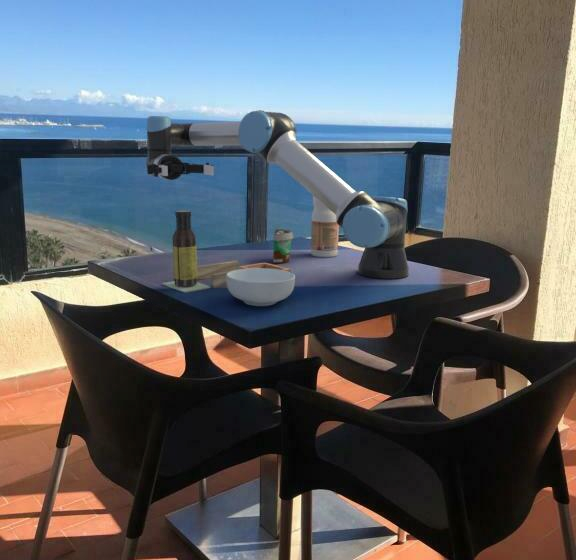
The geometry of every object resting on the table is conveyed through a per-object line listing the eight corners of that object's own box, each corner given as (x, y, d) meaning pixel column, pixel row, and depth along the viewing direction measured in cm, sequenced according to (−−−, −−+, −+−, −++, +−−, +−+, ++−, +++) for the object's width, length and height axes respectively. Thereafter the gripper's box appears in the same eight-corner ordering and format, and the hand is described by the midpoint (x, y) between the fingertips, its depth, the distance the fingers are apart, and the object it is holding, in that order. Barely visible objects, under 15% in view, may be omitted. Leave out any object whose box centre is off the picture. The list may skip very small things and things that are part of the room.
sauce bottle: (202, 283, 162) (201, 210, 157) (188, 288, 156) (187, 212, 152) (182, 281, 165) (181, 208, 160) (168, 285, 159) (166, 211, 154)
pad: (210, 288, 159) (210, 286, 159) (184, 292, 154) (184, 291, 154) (187, 280, 167) (187, 278, 167) (162, 284, 162) (162, 283, 162)
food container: (292, 265, 189) (293, 234, 187) (273, 265, 189) (273, 234, 187) (292, 258, 201) (293, 228, 199) (274, 257, 201) (275, 228, 199)
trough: (260, 279, 170) (260, 267, 169) (214, 287, 160) (214, 275, 159) (235, 272, 179) (235, 260, 178) (189, 279, 168) (189, 267, 167)
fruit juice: (305, 255, 206) (308, 173, 200) (318, 251, 214) (321, 172, 208) (329, 258, 202) (333, 174, 195) (342, 254, 209) (345, 173, 203)
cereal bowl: (308, 304, 147) (309, 276, 145) (255, 316, 136) (255, 285, 134) (264, 290, 159) (265, 264, 157) (212, 300, 148) (212, 272, 147)
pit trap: (290, 274, 178) (290, 269, 177) (264, 278, 171) (264, 273, 171) (264, 267, 186) (264, 262, 186) (239, 271, 180) (239, 266, 179)
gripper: (206, 178, 194) (230, 183, 176) (128, 179, 183) (146, 185, 165) (205, 155, 192) (230, 157, 174) (127, 154, 181) (145, 157, 163)
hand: (189, 170), depth 169 cm, fingers open, 13 cm apart
